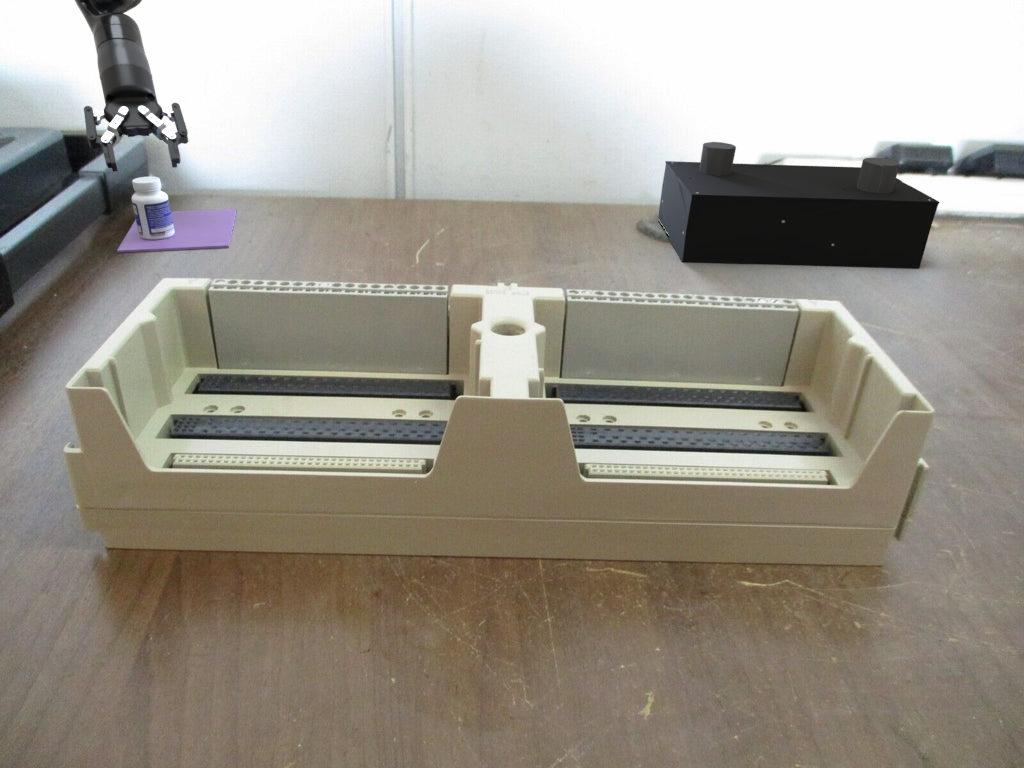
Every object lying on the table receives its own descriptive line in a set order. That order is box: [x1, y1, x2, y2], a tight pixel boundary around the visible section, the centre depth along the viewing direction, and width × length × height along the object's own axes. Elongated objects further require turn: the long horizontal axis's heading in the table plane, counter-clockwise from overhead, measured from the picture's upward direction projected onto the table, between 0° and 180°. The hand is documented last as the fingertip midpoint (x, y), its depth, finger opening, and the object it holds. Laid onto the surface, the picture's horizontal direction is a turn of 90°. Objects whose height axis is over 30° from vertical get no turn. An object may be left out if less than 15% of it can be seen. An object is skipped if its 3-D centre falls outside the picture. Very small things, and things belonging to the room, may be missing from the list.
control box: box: [657, 141, 940, 269], centre depth 128 cm, size 38×24×15 cm, turn 90°
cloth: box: [116, 208, 238, 254], centre depth 126 cm, size 16×20×1 cm
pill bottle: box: [131, 176, 175, 240], centre depth 120 cm, size 5×5×9 cm
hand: (145, 166), depth 118 cm, fingers open, 8 cm apart
